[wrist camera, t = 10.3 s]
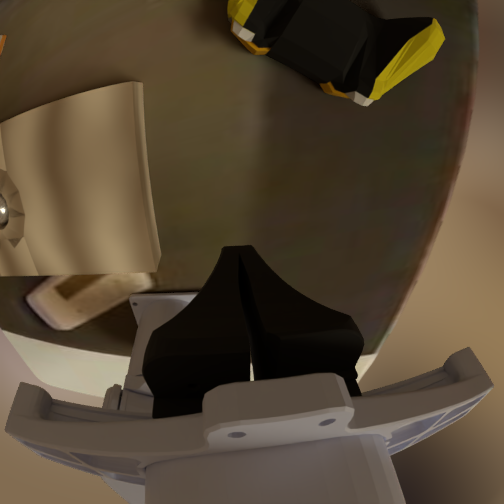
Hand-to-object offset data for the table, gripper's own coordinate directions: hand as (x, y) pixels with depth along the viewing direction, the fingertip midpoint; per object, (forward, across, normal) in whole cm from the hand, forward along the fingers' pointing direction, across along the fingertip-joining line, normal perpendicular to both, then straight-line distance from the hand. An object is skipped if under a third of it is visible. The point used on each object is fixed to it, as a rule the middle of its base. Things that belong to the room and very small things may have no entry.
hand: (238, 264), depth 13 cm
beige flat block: (+9, +16, -2) cm, 19 cm away
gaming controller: (+10, -6, -14) cm, 18 cm away
